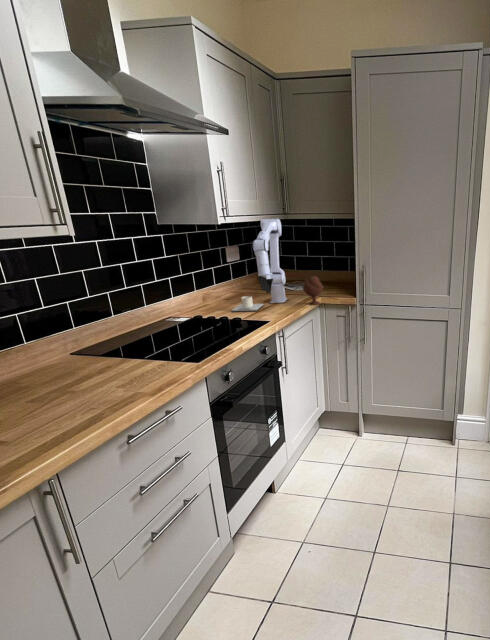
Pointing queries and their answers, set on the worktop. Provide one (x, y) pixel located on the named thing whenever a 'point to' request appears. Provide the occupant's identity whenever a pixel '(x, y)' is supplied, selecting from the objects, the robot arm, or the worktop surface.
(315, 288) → the brown tree model
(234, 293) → the worktop surface
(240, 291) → the worktop surface
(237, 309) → the scale
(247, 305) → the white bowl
